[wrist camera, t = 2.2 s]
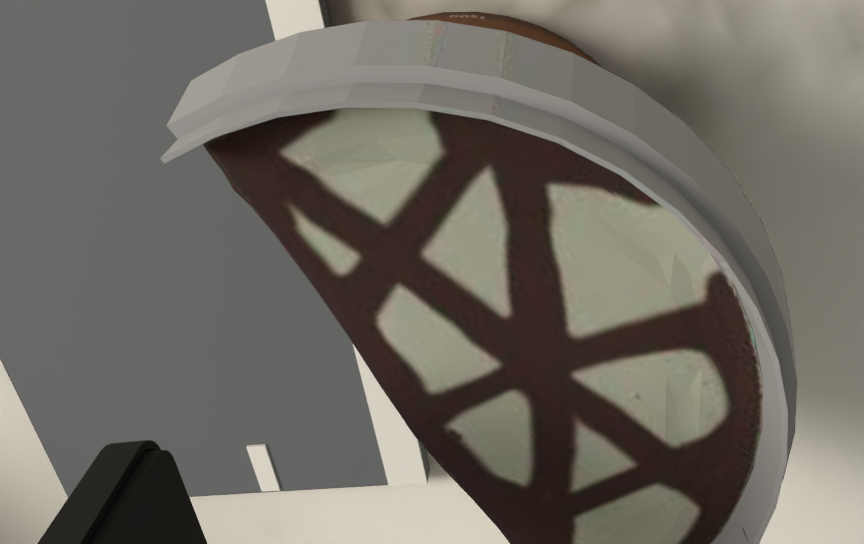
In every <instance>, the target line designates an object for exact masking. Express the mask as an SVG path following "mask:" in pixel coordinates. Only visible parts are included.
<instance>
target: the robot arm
mask: <svg viewBox="0 0 864 544" xmlns="http://www.w3.org/2000/svg"><path fill="white" fill-rule="evenodd" d="M38 544H207V542H206V539H205V537H204V534H203V532H202V529H201V527H200V524H199V521H198V519H197V516H196V514H195V511H194V509H193V506H192V503H191V501H190V498H189V496H188V493H187V491H186V488H185V485H184V483H183V480H182V478H181V475H180V473H179V470H178V467H177V465H176V462H175V460H174V458H173V456H172V454H171V453H170V452H169V451H167V450H161V449H160V447H159V445H158V444H157V443H156V442H154V441H151V440H143V441H132V442H121V443H111V444H108V445H106V446H105V447H104V448H103V449H102V450H101V451H100V452H99V454H98V455H97V457H96V458H95V460H94V461H93V463H92V464H91V466H90V467H89V469H88V470H87V472H86V473H85V474H84V476H83V477H82V479H81V480H80V482H79V483H78V485H77V486H76V488H75V489H74V491H73V492H72V494H71V495H70V497H69V498H68V500H67V501H66V503H65V504H64V505H63V507H62V508H61V510H60V511H59V513H58V514H57V516H56V517H55V519H54V520H53V522H52V523H51V525H50V526H49V528H48V529H47V531H46V532H45V534H44V535H43V536H42V538H41V539H40V541H39V542H38Z"/></svg>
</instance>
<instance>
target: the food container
mask: <svg viewBox="0 0 864 544" xmlns="http://www.w3.org/2000/svg"><path fill="white" fill-rule="evenodd" d="M167 127H168V128H169V129H170V131H171V132H172V133H173V134H174V135H175V137H176V138H177V139H178V140H177V141H176V142H175V143H174V144H173V145H172V146H171V147H170V148H169V149H168V150H167V152H166V153H165V154H164V155H163V156H162V157H161V158H160V159H161V160H162V161H163V162H164V163H166V162H168V161H170V160H172V159H174V158H176V157H178V156H180V155H182V154H184V153H186V152H188V151H190V150H192V149H193V148H195V147H197V146H199V145H201V144H203V143H204V144H203V145H204V147H205V148H206V150H207V151H208V153H209V154H210V156H211V157H212V159H213V160H214V161H215V162H216V164H217V165H218V166H219V167H220V169H221V170H222V171H223V173H224V175H225V176H226V178H227V180H228V181H229V183H230V185H231V186H232V188H233V190H234V191H235V192H236V193H237V194H238V195H239V196H241V197H242V198H243V199H244V200H245V201H246V202H247V203H248V204H249V205H250V206H251V207H252V208H253V210H254V211H255V212H256V213H257V214H258V215H259V217H260V218H261V219H262V220H263V221H264V223H265V224H266V225H267V226H268V227H269V228H270V230H271V231H272V232H273V233H274V235H275V236H276V237H277V239H278V240H279V241H280V243H281V244H282V245H283V247H284V248H285V249H286V251H287V252H288V253H289V255H290V256H291V257H292V259H293V260H294V261H295V263H296V264H297V265H298V267H299V268H300V269H301V271H302V272H303V273H304V275H305V276H306V277H307V279H308V280H309V281H310V283H311V284H312V285H313V287H314V288H315V290H316V291H317V292H318V294H319V295H320V297H321V298H322V299H323V301H324V302H325V304H326V305H327V307H328V308H329V309H330V311H331V312H332V314H333V315H334V317H335V318H336V320H337V321H338V322H339V324H340V325H341V327H342V328H343V330H344V331H345V332H346V334H347V335H348V337H349V338H350V340H351V341H352V343H353V345H354V346H355V348H356V349H357V351H358V352H359V354H360V355H361V357H362V358H363V360H364V362H365V363H366V365H367V366H368V368H369V369H370V371H371V372H372V374H373V376H374V377H375V379H376V380H377V382H378V383H379V385H380V386H381V388H382V389H383V391H384V392H385V394H386V395H387V397H388V398H389V399H390V401H391V402H392V404H393V405H394V407H395V408H396V410H397V411H398V413H399V414H400V415H401V417H402V418H403V420H404V421H405V423H406V425H407V426H408V428H409V429H410V430H411V432H412V433H413V434H414V436H415V437H416V438H417V439H418V440H419V442H420V443H421V444H422V445H423V446H424V447H425V448H426V450H427V451H428V452H429V453H430V454H431V455H432V456H433V458H434V459H435V460H436V461H437V462H438V463H439V464H440V465H441V467H442V468H443V469H444V470H445V471H446V472H447V473H448V474H449V475H450V476H451V477H452V478H453V479H454V480H455V481H456V482H457V483H458V485H459V486H460V487H461V488H462V489H463V490H464V491H465V492H466V493H467V494H468V495H469V496H470V497H471V498H472V499H473V500H474V501H475V502H476V504H477V505H478V506H479V507H480V508H481V509H482V510H483V511H484V513H485V514H486V515H487V516H488V517H489V518H490V519H491V520H492V521H493V523H494V524H495V525H496V526H497V527H498V528H499V530H500V531H501V532H502V534H503V535H504V536H505V537H506V539H507V540H508V541H509V543H510V544H759V542H760V540H761V538H762V536H763V534H764V532H765V530H766V527H767V525H768V523H769V521H770V519H771V517H772V515H773V512H774V510H775V508H776V504H777V500H778V496H779V492H780V488H781V484H782V481H783V478H784V474H785V470H786V466H787V462H788V458H789V454H790V450H791V446H792V442H793V438H794V434H795V415H796V389H797V379H796V370H795V360H794V350H793V341H792V331H791V323H790V317H789V311H788V306H787V300H786V294H785V288H784V283H783V277H782V272H781V270H780V267H779V265H778V262H777V259H776V257H775V254H774V252H773V249H772V247H771V244H770V241H769V239H768V236H767V234H766V231H765V228H764V226H763V223H762V221H761V219H760V218H759V216H758V215H757V213H756V211H755V210H754V208H753V207H752V205H751V203H750V202H749V200H748V199H747V197H746V196H745V194H744V192H743V191H742V189H741V188H740V186H739V184H738V183H737V181H736V180H735V178H734V176H733V175H732V173H731V172H730V170H729V169H728V168H727V167H726V166H725V165H724V164H723V163H722V162H721V161H720V160H719V159H718V157H717V156H716V155H715V154H714V153H713V152H712V151H711V150H710V149H709V148H708V147H707V146H706V144H705V143H704V142H703V141H702V140H701V139H700V138H699V137H698V136H697V135H696V134H695V133H694V131H693V130H692V129H691V128H690V127H689V126H688V125H687V124H686V123H684V122H683V121H682V120H680V119H679V118H678V117H676V116H675V115H674V114H672V113H671V112H670V111H668V110H667V109H666V108H664V107H663V106H662V105H661V104H659V103H658V102H657V101H655V100H654V99H653V98H651V97H650V96H649V95H647V94H646V93H645V92H643V91H642V90H641V89H639V88H638V87H637V86H636V85H634V84H632V83H630V82H628V81H626V80H624V79H622V78H620V77H619V76H617V75H615V74H613V73H611V72H609V71H607V70H605V69H603V68H601V67H600V66H599V65H598V64H597V63H596V62H595V61H594V60H593V59H592V58H591V57H589V56H588V55H587V54H585V53H584V52H583V51H581V50H580V49H579V48H577V47H576V46H575V45H573V44H572V43H570V42H569V41H568V40H566V39H564V38H562V37H560V36H558V35H556V34H554V33H552V32H550V31H548V30H546V29H544V28H542V27H540V26H537V25H534V24H531V23H528V22H525V21H521V20H518V19H515V18H512V17H509V16H502V15H495V14H487V13H480V12H445V13H438V14H432V15H427V16H421V17H416V18H411V19H408V20H397V21H362V22H356V23H351V24H345V25H339V26H333V27H327V28H321V29H315V30H310V31H304V32H299V33H296V34H294V35H291V36H288V37H285V38H282V39H279V40H277V41H274V42H271V43H268V44H265V45H262V46H260V47H257V48H254V49H251V50H248V51H245V52H243V53H240V54H238V55H236V56H234V57H232V58H231V59H229V60H227V61H225V62H223V63H222V64H220V65H218V66H216V67H215V68H213V69H211V70H209V71H207V72H206V73H204V74H202V75H200V76H198V77H197V78H195V79H193V80H191V82H190V84H189V85H188V87H187V89H186V91H185V93H184V95H183V96H182V98H181V100H180V102H179V104H178V106H177V107H176V109H175V111H174V113H173V115H172V116H171V118H170V120H169V122H168V124H167Z"/></svg>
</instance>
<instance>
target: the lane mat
mask: <svg viewBox="0 0 864 544" xmlns="http://www.w3.org/2000/svg"><path fill="white" fill-rule="evenodd" d="M327 27H332V26H331V22H330V17H329V13H328V8H327V4H326V0H0V359H1V362H2V364H3V366H4V368H5V370H6V372H7V374H8V376H9V378H10V380H11V382H12V384H13V386H14V388H15V390H16V392H17V394H18V396H19V398H20V400H21V402H22V404H23V406H24V408H25V410H26V412H27V414H28V416H29V419H30V421H31V423H32V425H33V427H34V429H35V431H36V433H37V435H38V437H39V439H40V441H41V443H42V445H43V447H44V449H45V451H46V453H47V455H48V457H49V459H50V461H51V463H52V465H53V467H54V469H55V471H56V473H57V475H58V478H59V480H60V482H61V484H62V486H63V488H64V490H65V492H66V494H67V496H68V498H69V497H70V495H71V494H72V492H73V491H74V489H75V488H76V486H77V485H78V483H79V482H80V480H81V479H82V477H83V476H84V474H85V473H86V472H87V470H88V469H89V467H90V466H91V464H92V463H93V461H94V460H95V458H96V457H97V455H98V454H99V452H100V451H101V450H102V449H103V448H104V447H105V446H106V445H108V444H111V443H121V442H132V441H143V440H151V441H154V442H156V443H157V444H158V445H159V447H160V449H161V450H167V451H169V452H170V453H171V454H172V456H173V458H174V460H175V462H176V465H177V467H178V470H179V473H180V475H181V478H182V480H183V483H184V485H185V488H186V491H187V493H188V496H189V497H192V496H209V495H226V494H243V493H260V492H277V491H294V490H311V489H328V488H345V487H362V486H378V485H389V487H392V486H409V485H426V484H427V483H428V476H429V470H430V469H429V464H428V460H427V455H426V451H425V447H424V446H423V445H422V444H421V443H420V442H419V440H418V439H417V438H416V437H415V436H414V434H413V433H412V432H411V430H410V429H409V428H408V426H407V425H406V423H405V421H404V420H403V418H402V417H401V415H400V414H399V413H398V411H397V410H396V408H395V407H394V405H393V404H392V402H391V401H390V399H389V398H388V397H387V395H386V394H385V392H384V391H383V389H382V388H381V386H380V385H379V383H378V382H377V380H376V379H375V377H374V376H373V374H372V372H371V371H370V369H369V368H368V366H367V365H366V363H365V362H364V360H363V358H362V357H361V355H360V354H359V352H358V351H357V349H356V348H355V346H354V345H353V343H352V341H351V340H350V338H349V337H348V335H347V334H346V332H345V331H344V330H343V328H342V327H341V325H340V324H339V322H338V321H337V320H336V318H335V317H334V315H333V314H332V312H331V311H330V309H329V308H328V307H327V305H326V304H325V302H324V301H323V299H322V298H321V297H320V295H319V294H318V292H317V291H316V290H315V288H314V287H313V285H312V284H311V283H310V281H309V280H308V279H307V277H306V276H305V275H304V273H303V272H302V271H301V269H300V268H299V267H298V265H297V264H296V263H295V261H294V260H293V259H292V257H291V256H290V255H289V253H288V252H287V251H286V249H285V248H284V247H283V245H282V244H281V243H280V241H279V240H278V239H277V237H276V236H275V235H274V233H273V232H272V231H271V230H270V228H269V227H268V226H267V225H266V224H265V223H264V221H263V220H262V219H261V218H260V217H259V215H258V214H257V213H256V212H255V211H254V210H253V208H252V207H251V206H250V205H249V204H248V203H247V202H246V201H245V200H244V199H243V198H242V197H241V196H239V195H238V194H237V193H236V192H235V191H234V190H233V188H232V186H231V185H230V183H229V181H228V180H227V178H226V176H225V175H224V173H223V171H222V170H221V169H220V167H219V166H218V165H217V164H216V162H215V161H214V160H213V159H212V157H211V156H210V154H209V153H208V151H207V150H206V148H205V147H204V145H203V144H204V143H203V144H201V145H199V146H197V147H195V148H193V149H192V150H190V151H188V152H186V153H184V154H182V155H180V156H178V157H176V158H174V159H172V160H170V161H168V162H166V163H164V162H163V161H162V160H161V159H160V158H161V157H162V156H163V155H164V154H165V153H166V152H167V150H168V149H169V148H170V147H171V146H172V145H173V144H174V143H175V142H176V141H177V140H178V139H177V138H176V137H175V135H174V134H173V133H172V132H171V131H170V129H169V128H168V127H167V124H168V122H169V120H170V118H171V116H172V115H173V113H174V111H175V109H176V107H177V106H178V104H179V102H180V100H181V98H182V96H183V95H184V93H185V91H186V89H187V87H188V85H189V84H190V82H191V80H193V79H195V78H197V77H198V76H200V75H202V74H204V73H206V72H207V71H209V70H211V69H213V68H215V67H216V66H218V65H220V64H222V63H223V62H225V61H227V60H229V59H231V58H232V57H234V56H236V55H238V54H240V53H243V52H245V51H248V50H251V49H254V48H257V47H260V46H262V45H265V44H268V43H271V42H274V41H277V40H279V39H282V38H285V37H288V36H291V35H294V34H296V33H299V32H304V31H310V30H315V29H321V28H327Z"/></svg>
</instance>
